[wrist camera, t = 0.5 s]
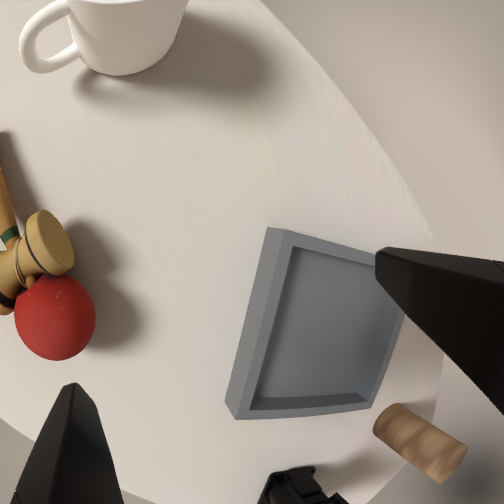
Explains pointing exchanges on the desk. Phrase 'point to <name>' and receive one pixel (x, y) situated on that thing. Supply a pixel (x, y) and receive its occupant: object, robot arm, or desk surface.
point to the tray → (312, 331)
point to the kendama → (42, 284)
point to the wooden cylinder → (419, 442)
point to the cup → (106, 34)
